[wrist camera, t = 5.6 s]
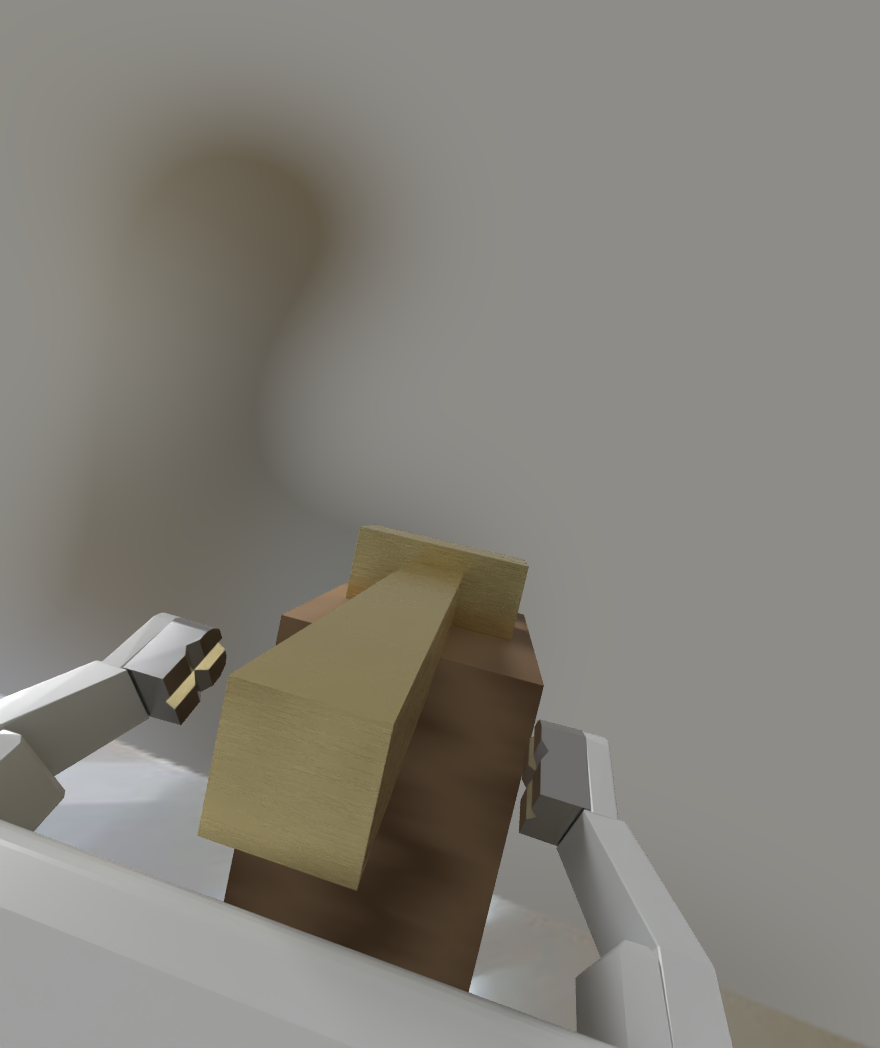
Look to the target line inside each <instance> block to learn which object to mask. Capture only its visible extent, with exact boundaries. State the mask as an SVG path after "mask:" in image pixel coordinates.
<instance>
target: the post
mask: <svg viewBox="0 0 880 1048" xmlns="http://www.w3.org/2000/svg"><path fill="white" fill-rule="evenodd" d="M348 584H349V582H347V583H345V584H343V585H341V586H339V587H337V588H335V589H333V590H331V591H329V592H327V593H325V594H323V595H321V596H319V597H317V598H315V599H313V600H311V601H309V602H307V603H305V604H303V605H301V606H299V607H297V608H295V609H292V610H290V611H288V612H286V613H285V614H283V615H282V616H281V621H280V626H279V631H278V636H277V641H276V645H278V644H280V643H281V642H283V641H284V640H286V639H288V638H289V637H291V636H292V635H294V634H296V633H297V632H299V631H300V630H302V629H304V628H305V627H307V626H308V625H310V624H312V623H313V622H315V621H316V620H318V619H320V618H321V617H323V616H324V615H326V614H328V613H329V612H331V611H332V610H334V609H336V608H337V607H339V606H340V605H342V604H344V603H345V602H347V601H348V600H350V599H348V598H346V593H347V589H348ZM543 687H544V685H543V681H542V678H541V674H540V671H539V667H538V663H537V660H536V657H535V653H534V649H533V646H532V642H531V639H530V635H529V631H528V628H527V624H526V621H525V617H524V615H523V614H520V613H517V618H516V622H515V626H514V630H513V634H512V639H511V641H509V640H505V639H501V638H498V637H494V636H490V635H486V634H482V633H478V632H474V631H471V630H467V629H463V628H459V627H455V626H452V628H451V631H450V633H449V636H448V639H447V642H446V644H445V647H444V650H443V653H442V656H441V658H440V661H439V664H438V667H437V669H436V672H435V675H434V678H433V681H432V683H431V686H430V689H429V692H428V694H427V697H426V700H425V703H424V705H423V708H422V711H421V714H420V717H419V719H418V722H417V725H416V728H415V730H414V733H413V736H412V739H411V742H410V744H409V747H408V750H407V753H406V755H405V758H404V761H403V764H402V767H401V769H400V772H399V775H398V778H397V780H396V783H395V786H394V789H393V792H392V794H391V797H390V800H389V803H388V805H387V808H386V811H385V814H384V816H383V819H382V822H381V825H380V828H379V830H378V833H377V836H376V839H375V841H374V844H373V847H372V850H371V853H370V855H369V858H368V861H367V864H366V866H365V869H364V872H363V875H362V878H361V880H360V883H359V886H358V889H357V891H356V890H353V889H350V888H347V887H344V886H341V885H338V884H335V883H333V882H330V881H327V880H324V879H321V878H318V877H315V876H312V875H310V874H307V873H304V872H301V871H298V870H295V869H292V868H289V867H286V866H284V865H281V864H278V863H275V862H272V861H269V860H266V859H263V858H261V857H258V856H255V855H252V854H249V853H246V852H243V851H240V850H238V849H234V854H233V859H232V864H231V869H230V874H229V879H228V884H227V889H226V894H225V899H224V902H225V903H228V904H230V905H233V906H236V907H239V908H241V909H244V910H247V911H249V912H252V913H255V914H258V915H260V916H263V917H266V918H268V919H271V920H274V921H277V922H279V923H282V924H285V925H287V926H290V927H293V928H295V929H298V930H301V931H304V932H306V933H309V934H312V935H314V936H317V937H320V938H323V939H325V940H328V941H331V942H333V943H336V944H339V945H342V946H344V947H347V948H350V949H352V950H355V951H358V952H360V953H363V954H366V955H369V956H371V957H374V958H377V959H379V960H382V961H385V962H388V963H390V964H393V965H396V966H398V967H401V968H404V969H407V970H409V971H412V972H415V973H417V974H420V975H423V976H425V977H428V978H431V979H434V980H436V981H439V982H442V983H444V984H447V985H450V986H453V987H455V988H458V989H461V990H463V991H466V992H469V988H470V984H471V980H472V976H473V972H474V968H475V964H476V960H477V956H478V952H479V948H480V943H481V939H482V935H483V931H484V927H485V923H486V919H487V915H488V911H489V907H490V903H491V899H492V895H493V890H494V886H495V882H496V878H497V874H498V869H499V866H500V862H501V858H502V854H503V849H504V846H505V842H506V837H507V833H508V829H509V825H510V821H511V817H512V813H513V809H514V805H515V801H516V797H517V792H518V789H519V784H520V780H521V776H522V770H523V761H524V755H525V751H526V747H527V744H528V742H529V739H530V738H531V735H532V732H533V727H534V723H535V719H536V715H537V711H538V707H539V703H540V699H541V695H542V691H543Z"/></svg>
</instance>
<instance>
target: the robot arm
mask: <svg viewBox="0 0 880 1048" xmlns="http://www.w3.org/2000/svg"><path fill="white" fill-rule="evenodd" d="M221 639H222V636H221V633H220V630H219V629H217V628H214V627H211V626H207V625H204V624H200V623H197V622H194V621H190V620H187V619H183V618H181V617H177V616H174V615H170V614H167V613H163V612H162V613H160V614H158V615H155V616H154V617H152V618H151V619H150V620H149V621H148V622H147V623H146V624H145V625H144V626H142V627H141V628H140V629H139V630H138V631H136V632H135V633H134V634H133V635H132V636H131V637H130V638H129V639H127V640H126V641H125V642H124V643H123V644H122V645H121V646H119V647H118V648H117V649H116V650H115V651H114V652H113V653H112V654H110V655H109V656H108V657H107V658H106V659H105V660H104V661H102V662H101V661H94V662H91V663H89V664H86V665H84V666H81V667H79V668H77V669H74V670H72V671H69V672H67V673H65V674H62V675H59V676H57V677H54V678H52V679H49V680H47V681H44V682H42V683H40V684H37V685H34V686H32V687H29V688H27V689H24V690H22V691H19V692H17V693H14V694H12V695H10V696H7V697H5V698H2V699H0V1048H733V1047H732V1043H731V1039H730V1034H729V1030H728V1026H727V1021H726V1017H725V1012H724V1008H723V1004H722V999H721V995H720V991H719V986H718V982H717V978H716V973H715V969H714V967H713V965H712V963H711V962H710V960H709V958H708V957H707V955H706V954H705V952H704V950H703V948H702V947H701V945H700V944H699V942H698V940H697V939H696V937H695V936H694V934H693V932H692V930H691V929H690V927H689V926H688V924H687V922H686V921H685V919H684V917H683V916H682V914H681V913H680V911H679V909H678V908H677V906H676V904H675V903H674V901H673V899H672V898H671V896H670V894H669V893H668V891H667V890H666V888H665V886H664V884H663V883H662V881H661V880H660V878H659V876H658V875H657V873H656V871H655V870H654V868H653V866H652V865H651V863H650V861H649V860H648V858H647V856H646V855H645V853H644V852H643V850H642V848H641V847H640V845H639V843H638V842H637V840H636V839H635V837H634V835H633V834H632V832H631V830H630V829H629V827H628V825H627V824H626V822H624V821H621V820H618V812H617V804H616V797H615V788H614V780H613V773H612V764H611V756H610V748H609V743H608V741H607V739H606V738H604V737H601V736H597V735H593V734H589V733H586V732H582V731H581V730H577V729H574V728H570V727H566V726H562V725H559V724H555V723H550V722H547V721H543V720H539V721H538V722H537V724H536V726H535V733H534V737H531V738H530V739H529V742H528V744H527V747H526V751H525V755H524V761H523V770H522V780H523V783H524V785H525V786H526V790H525V792H524V794H523V796H522V798H521V802H520V822H519V833H521V834H524V835H527V836H530V837H532V838H536V839H538V840H541V841H544V842H547V843H550V844H553V845H556V846H558V847H557V851H558V853H559V855H560V858H561V860H562V863H563V865H564V868H565V870H566V873H567V875H568V878H569V880H570V882H571V885H572V888H573V890H574V892H575V895H576V897H577V900H578V902H579V905H580V907H581V910H582V912H583V915H584V917H585V919H586V922H587V925H588V927H589V929H590V932H591V934H592V937H593V939H594V942H595V944H596V947H597V949H598V952H599V954H600V957H601V958H600V959H599V960H598V961H596V962H595V963H593V964H592V965H591V966H589V967H588V968H587V969H585V970H584V971H583V972H582V973H581V974H579V975H578V976H577V977H576V1015H577V1032H574V1031H572V1030H569V1029H566V1028H564V1027H561V1026H558V1025H555V1024H553V1023H550V1022H547V1021H545V1020H542V1019H539V1018H537V1017H534V1016H531V1015H528V1014H526V1013H523V1012H520V1011H518V1010H515V1009H512V1008H509V1007H507V1006H504V1005H501V1004H499V1003H496V1002H493V1001H490V1000H488V999H485V998H482V997H480V996H477V995H474V994H472V993H469V992H466V991H463V990H461V989H458V988H455V987H453V986H450V985H447V984H444V983H442V982H439V981H436V980H434V979H431V978H428V977H425V976H423V975H420V974H417V973H415V972H412V971H409V970H407V969H404V968H401V967H398V966H396V965H393V964H390V963H388V962H385V961H382V960H379V959H377V958H374V957H371V956H369V955H366V954H363V953H360V952H358V951H355V950H352V949H350V948H347V947H344V946H342V945H339V944H336V943H333V942H331V941H328V940H325V939H323V938H320V937H317V936H314V935H312V934H309V933H306V932H304V931H301V930H298V929H295V928H293V927H290V926H287V925H285V924H282V923H279V922H277V921H274V920H271V919H268V918H266V917H263V916H260V915H258V914H255V913H252V912H249V911H247V910H244V909H241V908H239V907H236V906H233V905H230V904H228V903H225V902H222V901H220V900H217V899H214V898H212V897H209V896H206V895H203V894H201V893H198V892H195V891H193V890H190V889H187V888H184V887H182V886H179V885H176V884H174V883H171V882H168V881H166V880H163V879H160V878H157V877H155V876H152V875H149V874H147V873H144V872H141V871H138V870H136V869H133V868H130V867H128V866H125V865H122V864H119V863H117V862H114V861H111V860H109V859H106V858H103V857H101V856H98V855H95V854H92V853H90V852H87V851H84V850H82V849H79V848H76V847H73V846H71V845H68V844H65V843H63V842H60V841H57V840H54V839H52V838H49V837H46V836H44V835H41V834H38V833H36V832H34V831H35V829H36V828H37V827H38V826H39V825H40V824H41V823H42V822H43V820H44V819H45V818H46V817H47V816H48V815H49V814H50V813H51V812H52V810H53V809H54V808H55V807H56V806H57V805H58V804H59V803H60V801H61V800H62V799H63V798H64V794H65V790H64V788H63V787H62V786H61V785H60V783H59V782H58V781H57V780H56V778H55V777H54V776H55V775H57V774H59V773H60V772H62V771H63V770H65V769H67V768H68V767H70V766H72V765H73V764H75V763H77V762H78V761H80V760H82V759H83V758H85V757H86V756H88V755H90V754H91V753H93V752H95V751H96V750H98V749H100V748H101V747H103V746H104V745H106V744H108V743H109V742H111V741H113V740H114V739H116V738H118V737H119V736H121V735H123V734H124V733H126V732H127V731H129V730H131V729H132V728H134V727H136V726H137V725H139V724H141V723H142V722H144V721H145V720H147V719H148V718H149V717H148V716H151V717H154V718H157V719H161V720H164V721H168V722H172V723H175V724H178V725H181V724H182V723H183V722H184V721H185V719H186V718H187V717H188V716H189V714H190V713H191V712H192V711H193V710H194V708H195V707H196V706H197V705H198V703H199V702H200V697H201V691H203V690H205V689H207V688H209V687H211V686H213V685H214V683H215V682H216V681H217V679H218V678H219V677H220V675H221V673H222V671H223V669H224V666H225V664H226V652H225V649H224V648H223V647H222V646H221V645H220V644H219V641H220V640H221Z"/></svg>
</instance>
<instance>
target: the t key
mask: <svg viewBox="0 0 880 1048" xmlns="http://www.w3.org/2000/svg"><path fill="white" fill-rule="evenodd" d="M528 567H529V566H528V565H527V563H526V561H525V560H523V559H519V558H514V557H510V556H506V555H502V554H498V553H493V552H489V551H485V550H481V549H476V548H472V547H468V546H464V545H459V544H455V543H451V542H447V541H443V540H438V539H434V538H429V537H425V536H421V535H417V534H413V533H408V532H404V531H399V530H396V529H391V528H387V527H383V526H379V525H369V526H362V527H360V532H359V537H358V541H357V546H356V551H355V556H354V560H353V565H352V570H351V575H350V579H349V584H348V589H347V593H346V598H348V599H350V600H348V601H347V602H345V603H344V604H342V605H340V606H339V607H337V608H336V609H334V610H332V611H331V612H329V613H328V614H326V615H324V616H323V617H321V618H320V619H318V620H316V621H315V622H313V623H312V624H310V625H308V626H307V627H305V628H304V629H302V630H300V631H299V632H297V633H296V634H294V635H292V636H291V637H289V638H288V639H286V640H284V641H283V642H281V643H280V644H278V645H276V646H275V647H273V648H272V649H270V650H268V651H267V652H265V653H264V654H262V655H260V656H259V657H257V658H256V659H254V660H252V661H251V662H249V663H248V664H246V665H244V666H243V667H241V668H240V669H238V670H236V671H235V672H233V673H232V674H230V675H229V677H228V682H227V688H226V692H225V698H224V703H223V708H222V713H221V718H220V723H219V729H218V734H217V738H216V744H215V749H214V754H213V759H212V765H211V769H210V774H209V779H208V785H207V790H206V795H205V800H204V805H203V810H202V815H201V820H200V826H199V831H198V836H200V837H203V838H206V839H209V840H212V841H214V842H217V843H220V844H223V845H226V846H229V847H232V848H235V849H238V850H240V851H243V852H246V853H249V854H252V855H255V856H258V857H261V858H263V859H266V860H269V861H272V862H275V863H278V864H281V865H284V866H286V867H289V868H292V869H295V870H298V871H301V872H304V873H307V874H310V875H312V876H315V877H318V878H321V879H324V880H327V881H330V882H333V883H335V884H338V885H341V886H344V887H347V888H350V889H353V890H356V891H357V889H358V886H359V883H360V880H361V878H362V875H363V872H364V869H365V866H366V864H367V861H368V858H369V855H370V853H371V850H372V847H373V844H374V841H375V839H376V836H377V833H378V830H379V828H380V825H381V822H382V819H383V816H384V814H385V811H386V808H387V805H388V803H389V800H390V797H391V794H392V792H393V789H394V786H395V783H396V780H397V778H398V775H399V772H400V769H401V767H402V764H403V761H404V758H405V755H406V753H407V750H408V747H409V744H410V742H411V739H412V736H413V733H414V730H415V728H416V725H417V722H418V719H419V717H420V714H421V711H422V708H423V705H424V703H425V700H426V697H427V694H428V692H429V689H430V686H431V683H432V681H433V678H434V675H435V672H436V669H437V667H438V664H439V661H440V658H441V656H442V653H443V650H444V647H445V644H446V642H447V639H448V636H449V633H450V631H451V628H452V626H455V627H459V628H463V629H467V630H471V631H474V632H478V633H482V634H486V635H490V636H494V637H498V638H501V639H505V640H509V641H511V639H512V634H513V630H514V626H515V622H516V618H517V613H518V609H519V605H520V601H521V597H522V592H523V588H524V584H525V580H526V575H527V572H528Z"/></svg>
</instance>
